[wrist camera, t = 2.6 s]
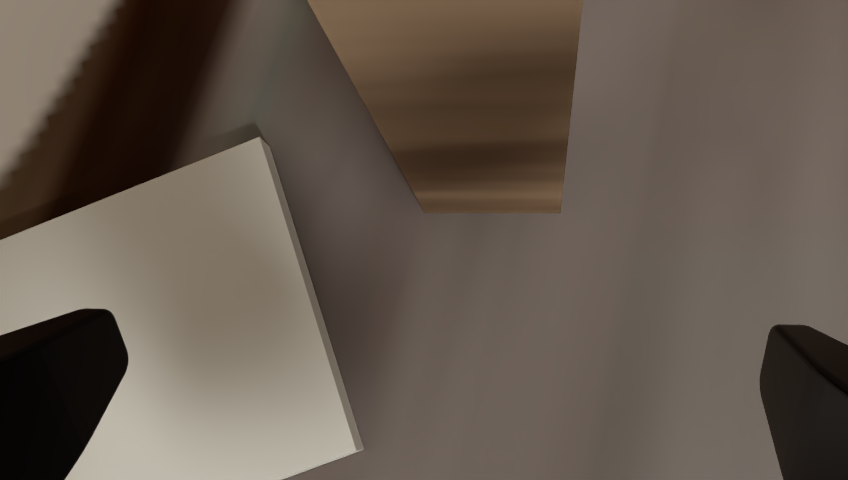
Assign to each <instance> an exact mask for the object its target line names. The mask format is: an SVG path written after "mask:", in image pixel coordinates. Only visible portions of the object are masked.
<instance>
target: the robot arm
mask: <svg viewBox="0 0 848 480" xmlns="http://www.w3.org/2000/svg"><path fill="white" fill-rule="evenodd" d="M128 360H129V359H128V352H127V349H126V346H125V343H124V341H123V338H122V335H121V333H120V330H119V327H118V325H117V322H116V319H115V317H114V315H113V314H112V312H110V311H109V310H107V309H93V308H84V309H79V310H76V311H73V312H70V313H67V314H64V315H60V316H57V317H54V318H51V319H48V320H45V321H42V322H39V323H36V324H33V325H30V326H27V327H24V328H21V329H18V330H15V331H12V332H9V333H6V334H3V335H0V480H65V479H66V477H67V476H68V474H69V473H70V471H71V470H72V468H73V467H74V465H75V464H76V462H77V461H78V459H79V458H80V456H81V454H82V453H83V451H84V450H85V448H86V446H87V444H88V443H89V441H90V439H91V437H92V436H93V434H94V432H95V430H96V428H97V426H98V424H99V422H100V420H101V419H102V417H103V415H104V413H105V411H106V409H107V407H108V405H109V403H110V402H111V400H112V398H113V396H114V394H115V392H116V390H117V388H118V386H119V384H120V383H121V381H122V379H123V377H124V375H125V373H126V371H127V367H128ZM760 392H761V398H762V401H763V405H764V409H765V413H766V416H767V420H768V424H769V428H770V431H771V435H772V439H773V443H774V446H775V450H776V454H777V458H778V462H779V465H780V469H781V473H782V476H783V480H848V345H846V344H844V343H842V342H840V341H838V340H836V339H834V338H832V337H830V336H828V335H826V334H824V333H822V332H819V331H817V330H815V329H813V328H811V327H809V326H806V325H780V324H778V325H775V326H773V327H772V328H771V330H770V332H769V335H768V340H767V345H766V349H765V354H764V359H763V363H762V368H761V373H760Z"/></svg>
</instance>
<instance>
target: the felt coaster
mask: <svg viewBox="0 0 848 480" xmlns="http://www.w3.org/2000/svg"><path fill="white" fill-rule="evenodd" d="M84 308H93V309H107V310H109V311H110V312H112V314H113V315H114V317H115V319H116V322H117V325H118V327H119V330H120V333H121V335H122V338H123V341H124V343H125V346H126V349H127V352H128V359H129V360H128V367H127V371H126V373H125V375H124V377H123V379H122V381H121V383H120V384H119V386H118V388H117V390H116V392H115V394H114V396H113V398H112V400H111V402H110V403H109V405H108V407H107V409H106V411H105V413H104V415H103V417H102V419H101V420H100V422H99V424H98V426H97V428H96V430H95V432H94V434H93V436H92V437H91V439H90V441H89V443H88V444H87V446H86V448H85V450H84V451H83V453H82V454H81V456H80V458H79V459H78V461H77V462H76V464H75V465H74V467H73V468H72V470H71V471H70V473H69V474H68V476H67V477H66V479H65V480H282V479H285V478H288V477H290V476H293V475H296V474H299V473H301V472H304V471H307V470H309V469H312V468H315V467H318V466H320V465H323V464H326V463H329V462H331V461H334V460H337V459H339V458H342V457H345V456H348V455H350V454H353V453H356V452H359V451H361V450H364V448H363V445H362V441H361V438H360V435H359V432H358V429H357V425H356V422H355V419H354V416H353V413H352V409H351V406H350V403H349V400H348V397H347V393H346V390H345V387H344V384H343V380H342V377H341V374H340V371H339V368H338V364H337V361H336V358H335V355H334V352H333V348H332V345H331V342H330V339H329V336H328V332H327V329H326V326H325V323H324V320H323V316H322V313H321V310H320V307H319V303H318V300H317V297H316V294H315V291H314V287H313V284H312V281H311V278H310V275H309V271H308V268H307V265H306V262H305V259H304V255H303V252H302V249H301V246H300V242H299V239H298V236H297V233H296V230H295V226H294V223H293V220H292V217H291V214H290V210H289V207H288V204H287V201H286V198H285V194H284V191H283V188H282V185H281V181H280V178H279V175H278V172H277V169H276V165H275V162H274V159H273V156H272V153H271V149H270V147H269V146H268V145H267V144H266V143H265V142H264V141H263V140H262V139H261V138H260V137H258V138H255V139H253V140H250V141H248V142H245V143H243V144H240V145H238V146H235V147H233V148H230V149H228V150H225V151H223V152H220V153H217V154H215V155H212V156H210V157H207V158H205V159H202V160H200V161H197V162H195V163H192V164H190V165H187V166H185V167H182V168H180V169H177V170H175V171H172V172H170V173H167V174H165V175H162V176H160V177H157V178H155V179H152V180H150V181H147V182H145V183H142V184H140V185H137V186H135V187H132V188H130V189H127V190H125V191H122V192H120V193H117V194H115V195H112V196H110V197H107V198H105V199H102V200H100V201H97V202H95V203H92V204H90V205H87V206H85V207H82V208H80V209H77V210H75V211H72V212H70V213H67V214H65V215H62V216H60V217H57V218H55V219H52V220H50V221H47V222H44V223H42V224H39V225H37V226H34V227H32V228H29V229H27V230H24V231H22V232H19V233H17V234H14V235H12V236H9V237H7V238H4V239H2V240H0V335H3V334H6V333H9V332H12V331H15V330H18V329H21V328H24V327H27V326H30V325H33V324H36V323H39V322H42V321H45V320H48V319H51V318H54V317H57V316H60V315H64V314H67V313H70V312H73V311H76V310H79V309H84Z"/></svg>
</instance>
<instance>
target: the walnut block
mask: <svg viewBox="0 0 848 480" xmlns="http://www.w3.org/2000/svg"><path fill="white" fill-rule="evenodd" d="M307 1H308V3H309V5H310V7H311V8H312V10H313V12H314V14H315V16H316V17H317V19H318V21H319V23H320V25H321V26H322V28H323V30H324V32H325V34H326V35H327V37H328V39H329V41H330V43H331V44H332V46H333V48H334V50H335V52H336V53H337V55H338V57H339V59H340V61H341V62H342V64H343V66H344V68H345V70H346V71H347V73H348V75H349V77H350V79H351V80H352V82H353V84H354V86H355V88H356V90H357V91H358V93H359V95H360V97H361V99H362V100H363V102H364V104H365V106H366V108H367V109H368V111H369V113H370V115H371V117H372V118H373V120H374V122H375V124H376V126H377V127H378V129H379V131H380V133H381V135H382V136H383V138H384V140H385V142H386V144H387V145H388V147H389V149H390V151H391V153H392V154H393V156H394V158H395V160H396V162H397V163H398V165H399V167H400V169H401V171H402V172H403V174H404V176H405V178H406V180H407V181H408V183H409V185H410V187H411V189H412V190H413V192H414V194H415V196H416V198H417V200H418V201H419V203H420V205H421V207H422V209H423V210H424V212H425V213H560V212H561V202H562V193H563V184H564V174H565V165H566V155H567V146H568V136H569V127H570V117H571V108H572V98H573V89H574V79H575V70H576V60H577V51H578V41H579V32H580V22H581V13H582V4H583V0H307Z"/></svg>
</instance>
